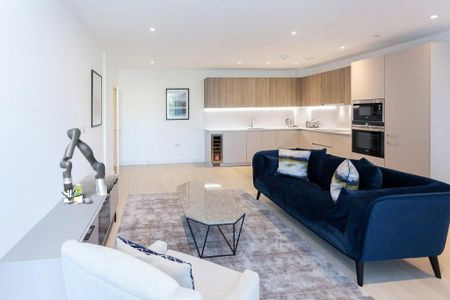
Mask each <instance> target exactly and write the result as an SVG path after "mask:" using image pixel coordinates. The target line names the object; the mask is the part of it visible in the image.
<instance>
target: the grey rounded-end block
mask: <svg viewBox="0 0 450 300" xmlns="http://www.w3.org/2000/svg"><path fill="white" fill-rule="evenodd" d="M84 199H85V204H84V205H91V204H92V202H91V200H92V198H91V197H85V198H84Z"/></svg>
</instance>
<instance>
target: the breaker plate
mask: <svg viewBox="0 0 450 300" xmlns="http://www.w3.org/2000/svg"><path fill="white" fill-rule="evenodd" d="M91 203H93V199H91ZM71 204H73V205H75V204H76V205H75V206H79V205H80V204H81V205H86V204H85V198H83V199H82V202H78V201H72V202H71Z"/></svg>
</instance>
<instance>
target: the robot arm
mask: <svg viewBox="0 0 450 300" xmlns="http://www.w3.org/2000/svg"><path fill="white" fill-rule="evenodd" d="M81 134H82V132H81V130H80V128H76V127H74V128H70V129H68V130H67V133H66V135H67V137H68V138H69V140H70V142H69V144H68V145H67V147H66V149H65V151H64V155H63V157H62V159H61V160H60V162H59V167H60V168H61V169H66V170H65V171H62V185H63V191H62V192H61V195H63V197H64V196H65V197H67V198H68V201H71V196H73V195H74V193H75V192H76V190H74V189H73V185H72V184H73V177H72V169H73V163H72V161H71V160H72V159H73V155H74V152H75V148H76V147H77V149H78V150H79V151H80V153H81V154H82V155H83V157H84V158H85V160H86V161H88V163H89V164H90V166H91V168H92V169H93V171H95V172H96V175H94V179H95V180H94V181H95V191H96V196H97V197H102V196H106V195H108V191H107V184H106V166H105V164H104V163H103V162H99V161H98V160H97V159H96V158H95V154H94V152H93V149H92V148H91V146H90V145H88V144H87V143H86V142H84V141H82V140H81ZM72 191H73V192H72ZM65 193H66V194H67V195H66V194H65ZM71 193H72V194H71Z"/></svg>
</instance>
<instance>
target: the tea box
mask: <svg viewBox="0 0 450 300" xmlns="http://www.w3.org/2000/svg"><path fill="white" fill-rule="evenodd" d="M72 185H73V189H74V190H76V192H75V193H74V195H73V196H71V201H68V198H67V197H65V196H64V195H63V198H64V199H63V200H64V203H72V201H74V198H75V197H79V198H82V199H84V198H83V197H84V196H83V184H82V183H72ZM72 192H73V191H72ZM65 194H66V193H65ZM71 194H72V193H71ZM66 195H67V194H66Z"/></svg>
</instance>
